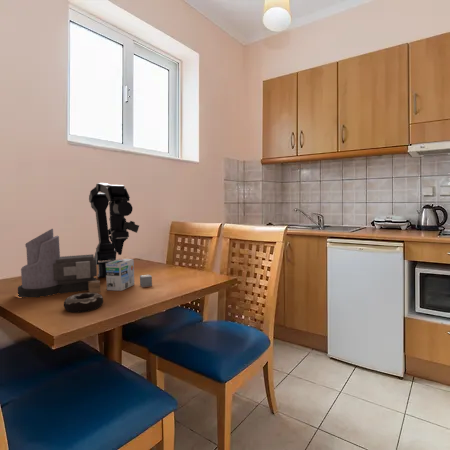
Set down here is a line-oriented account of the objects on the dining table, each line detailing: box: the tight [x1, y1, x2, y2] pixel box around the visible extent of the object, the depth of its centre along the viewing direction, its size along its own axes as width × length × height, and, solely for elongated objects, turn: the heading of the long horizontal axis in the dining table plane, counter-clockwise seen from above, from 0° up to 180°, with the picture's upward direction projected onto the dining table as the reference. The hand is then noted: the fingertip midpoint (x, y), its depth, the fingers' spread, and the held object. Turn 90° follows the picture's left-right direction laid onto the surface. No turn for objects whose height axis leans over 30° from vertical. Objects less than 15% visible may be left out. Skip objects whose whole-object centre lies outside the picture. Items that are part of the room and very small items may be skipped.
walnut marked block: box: [88, 279, 101, 294], centre depth 122 cm, size 4×4×4 cm
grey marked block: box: [139, 274, 153, 288], centre depth 130 cm, size 4×4×4 cm
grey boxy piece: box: [17, 228, 98, 298], centre depth 125 cm, size 30×16×24 cm, turn 111°
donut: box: [63, 291, 104, 313], centre depth 103 cm, size 12×12×4 cm
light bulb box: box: [105, 258, 135, 292], centre depth 128 cm, size 11×7×11 cm, turn 168°
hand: (118, 253), depth 132 cm, fingers open, 8 cm apart
